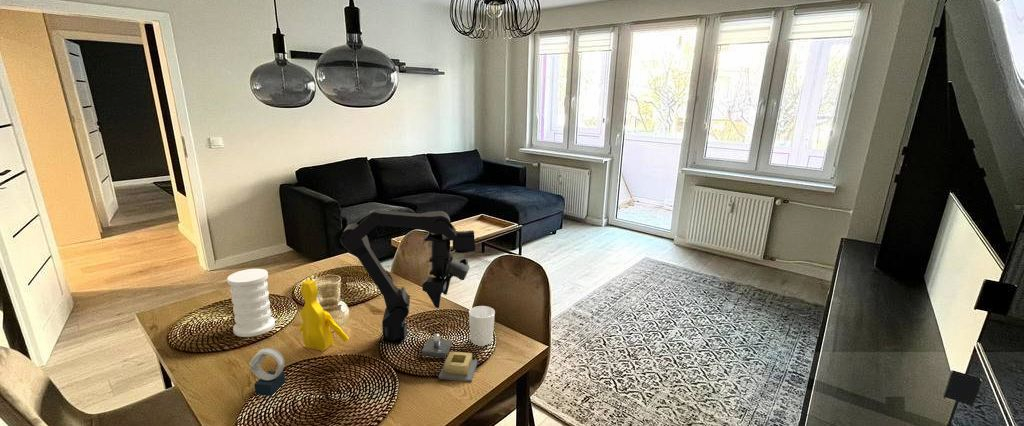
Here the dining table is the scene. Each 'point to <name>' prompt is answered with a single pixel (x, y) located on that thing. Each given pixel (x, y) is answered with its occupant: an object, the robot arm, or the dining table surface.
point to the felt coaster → (460, 378)
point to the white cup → (481, 325)
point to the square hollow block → (458, 363)
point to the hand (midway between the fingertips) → (441, 300)
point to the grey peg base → (436, 347)
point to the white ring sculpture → (270, 379)
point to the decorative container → (250, 302)
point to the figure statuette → (317, 320)
